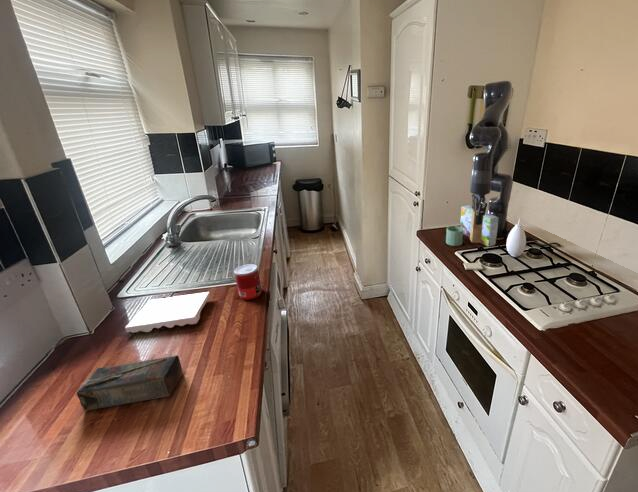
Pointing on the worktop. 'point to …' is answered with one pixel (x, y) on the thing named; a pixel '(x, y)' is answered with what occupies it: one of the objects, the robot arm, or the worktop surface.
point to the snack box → (487, 228)
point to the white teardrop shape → (516, 240)
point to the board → (473, 266)
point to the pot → (454, 235)
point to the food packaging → (169, 312)
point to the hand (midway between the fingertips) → (477, 222)
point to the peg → (475, 229)
